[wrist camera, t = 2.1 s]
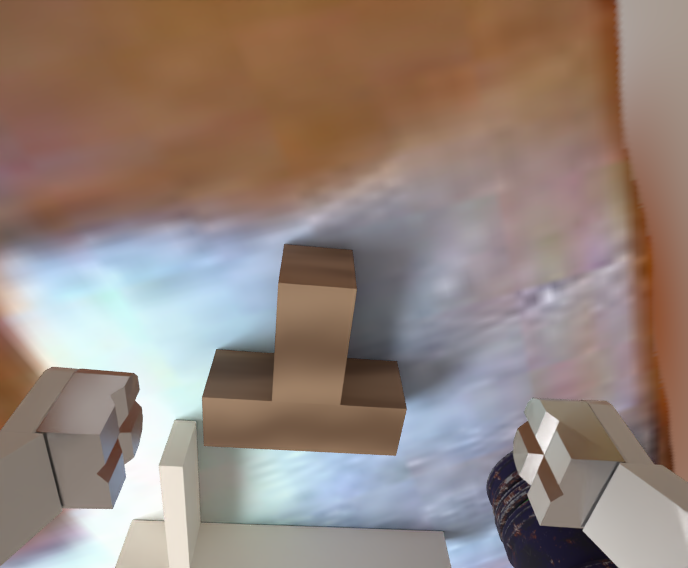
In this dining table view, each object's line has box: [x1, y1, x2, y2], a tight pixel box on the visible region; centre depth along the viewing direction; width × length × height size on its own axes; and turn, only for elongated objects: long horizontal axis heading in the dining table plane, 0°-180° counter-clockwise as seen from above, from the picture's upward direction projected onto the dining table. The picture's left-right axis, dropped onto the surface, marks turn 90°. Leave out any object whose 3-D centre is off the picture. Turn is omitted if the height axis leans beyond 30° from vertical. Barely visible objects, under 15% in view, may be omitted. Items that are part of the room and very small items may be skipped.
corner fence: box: [115, 420, 451, 568], centre depth 38 cm, size 13×26×4 cm, turn 84°
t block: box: [202, 244, 407, 456], centre depth 31 cm, size 12×12×4 cm
